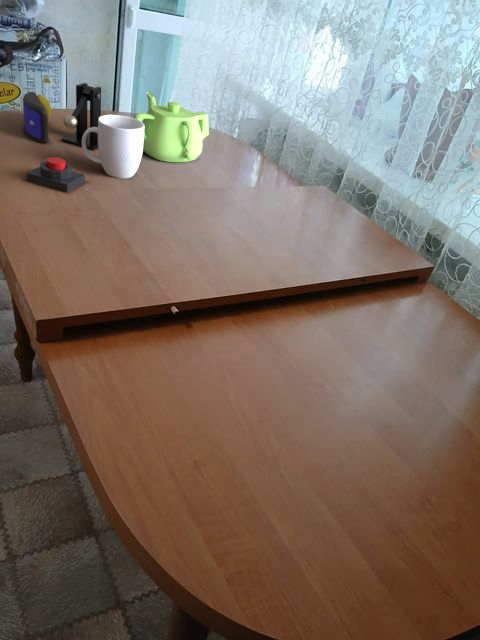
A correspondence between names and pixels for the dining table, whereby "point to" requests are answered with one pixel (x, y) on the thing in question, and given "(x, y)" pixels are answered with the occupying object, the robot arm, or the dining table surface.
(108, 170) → the mug
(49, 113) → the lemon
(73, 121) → the lever
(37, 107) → the blue panel tablet
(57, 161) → the button
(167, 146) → the teapot
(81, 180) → the button box
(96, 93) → the pendulum stand
